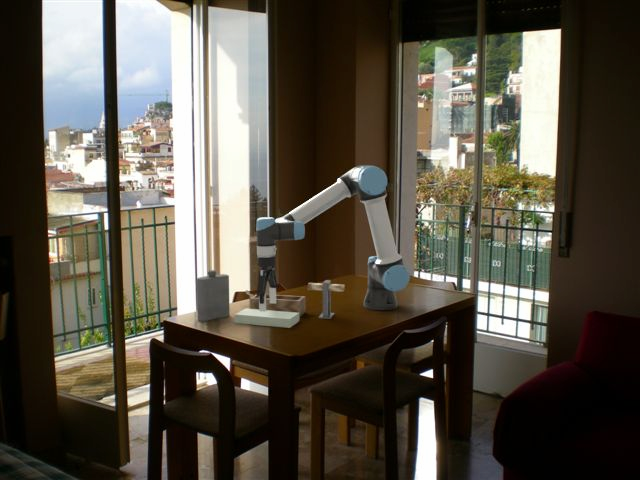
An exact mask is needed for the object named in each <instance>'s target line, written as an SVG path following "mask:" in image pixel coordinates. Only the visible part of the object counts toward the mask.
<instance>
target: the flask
mask: <svg viewBox="0 0 640 480" xmlns="http://www.w3.org/2000/svg"><path fill="white" fill-rule="evenodd" d="M196 304H197V305H196V306H197V308H196V310H197V313H196V315H197V317H196V318H197V321H198V322H208V321H211V320H212V321H213V320H216V319H222V318H223V319H224V318H228V317H230V275H228V274H224V273H221V274H217V271H216V270H214V269H211V270H208V271H207V275H204V276H201V277H200V276H199V277H197V278H196Z"/></svg>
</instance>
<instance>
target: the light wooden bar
mask: <svg viewBox="0 0 640 480" xmlns="http://www.w3.org/2000/svg"><path fill="white" fill-rule="evenodd" d="M345 287H346V285H345V284H341V283H339V284H338V283H331V284H328V291H330V292H339V293H340V292H344V291H345ZM307 291H322V292H323V282H321V283H319V282H317V283H316V282H308V283H307Z"/></svg>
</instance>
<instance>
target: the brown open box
mask: <svg viewBox="0 0 640 480" xmlns="http://www.w3.org/2000/svg"><path fill="white" fill-rule="evenodd" d="M253 295H254V296H253V297H251V298H250V297H249V309H259V295H256V294H253ZM265 295H266V310H271V311H284V312H296V313H299V318H301V317H302V316H303V315H304V314H305V313H306V295H305V296H303V295H301V296H300V295H285V294H284V295H281V294H276V304H273V303H270V297H269V294H265Z"/></svg>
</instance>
